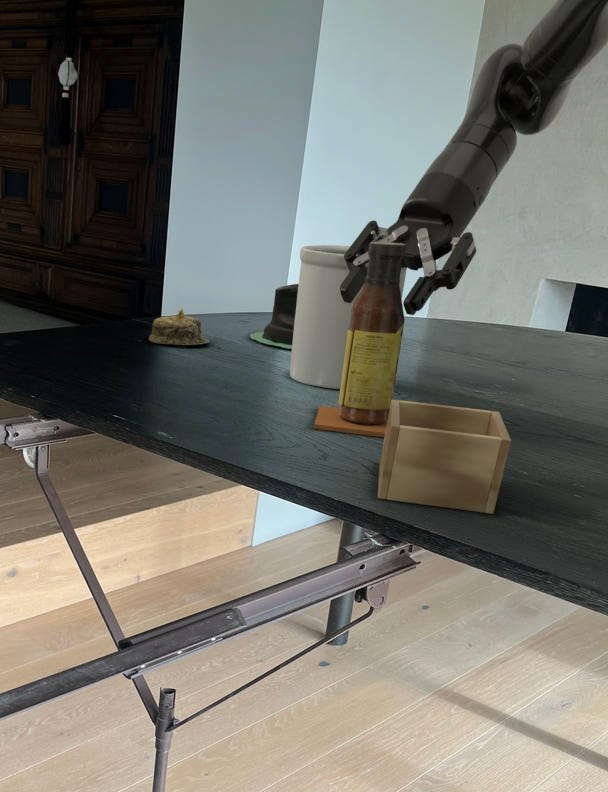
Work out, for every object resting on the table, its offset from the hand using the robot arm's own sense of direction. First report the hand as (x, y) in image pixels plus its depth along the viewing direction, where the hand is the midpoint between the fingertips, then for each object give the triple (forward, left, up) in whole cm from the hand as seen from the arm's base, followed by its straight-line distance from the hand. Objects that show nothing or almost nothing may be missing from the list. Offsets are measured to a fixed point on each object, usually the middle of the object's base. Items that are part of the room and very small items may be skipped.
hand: (375, 303), depth 113 cm
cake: (+30, -41, -14) cm, 53 cm away
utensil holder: (+4, -26, -14) cm, 29 cm away
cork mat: (0, 0, -14) cm, 14 cm away
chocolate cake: (+10, -54, -14) cm, 57 cm away
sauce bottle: (-1, -1, -14) cm, 14 cm away
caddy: (-8, +23, -14) cm, 28 cm away
